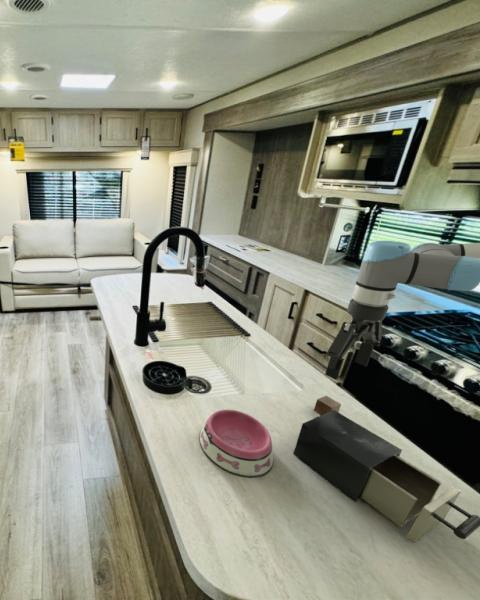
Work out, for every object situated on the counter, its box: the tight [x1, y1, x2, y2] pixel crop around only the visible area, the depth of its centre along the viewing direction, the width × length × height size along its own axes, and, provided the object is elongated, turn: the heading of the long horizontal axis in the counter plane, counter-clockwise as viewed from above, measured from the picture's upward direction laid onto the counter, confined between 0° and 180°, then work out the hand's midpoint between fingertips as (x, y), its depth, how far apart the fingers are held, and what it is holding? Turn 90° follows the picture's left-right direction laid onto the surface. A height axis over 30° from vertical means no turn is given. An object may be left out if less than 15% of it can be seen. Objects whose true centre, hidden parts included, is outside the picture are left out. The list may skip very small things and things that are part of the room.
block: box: [313, 395, 342, 416], centre depth 97 cm, size 4×4×4 cm
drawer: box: [359, 455, 480, 543], centre depth 67 cm, size 18×11×9 cm, turn 22°
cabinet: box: [293, 410, 403, 503], centre depth 78 cm, size 15×13×11 cm
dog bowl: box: [198, 409, 274, 478], centre depth 85 cm, size 18×19×7 cm
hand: (346, 370), depth 88 cm, fingers open, 13 cm apart
